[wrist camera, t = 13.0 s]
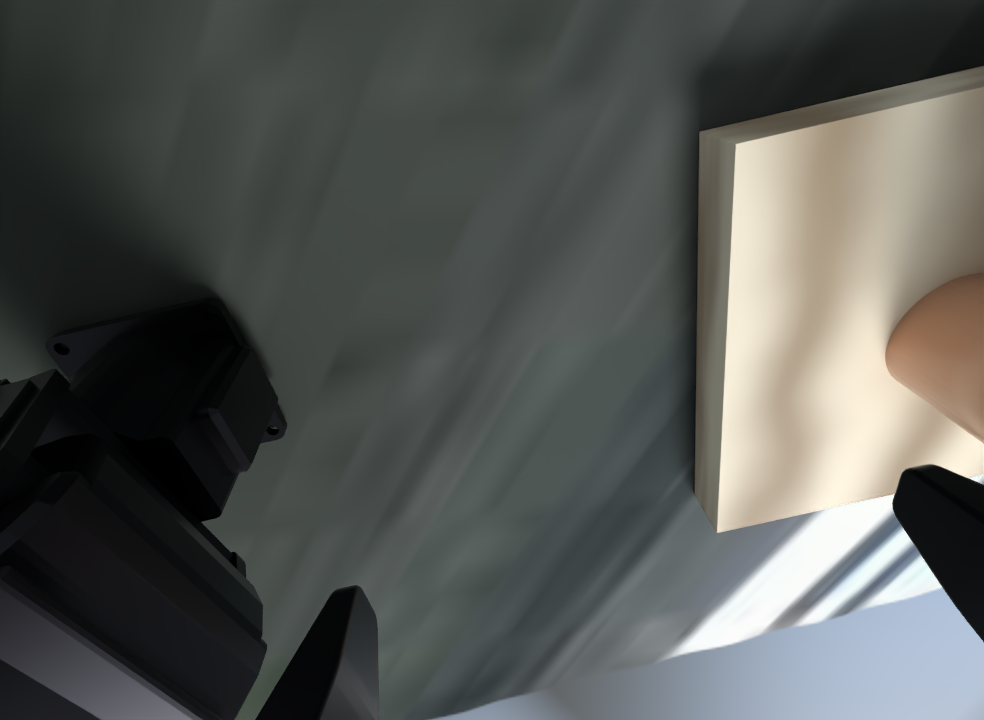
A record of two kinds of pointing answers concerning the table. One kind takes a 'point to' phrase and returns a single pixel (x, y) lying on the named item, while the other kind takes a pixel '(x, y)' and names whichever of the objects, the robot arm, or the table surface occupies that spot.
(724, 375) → the birch base plate
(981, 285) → the peach capsule
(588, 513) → the table surface
